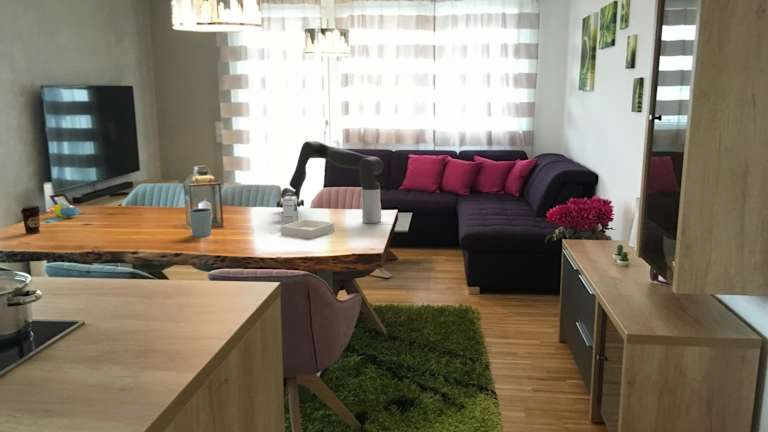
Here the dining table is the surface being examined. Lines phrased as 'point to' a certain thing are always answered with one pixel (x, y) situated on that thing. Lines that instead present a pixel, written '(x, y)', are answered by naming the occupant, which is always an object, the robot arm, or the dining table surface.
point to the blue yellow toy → (62, 212)
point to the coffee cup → (31, 219)
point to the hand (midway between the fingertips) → (290, 205)
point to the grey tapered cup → (200, 222)
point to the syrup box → (290, 209)
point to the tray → (307, 228)
